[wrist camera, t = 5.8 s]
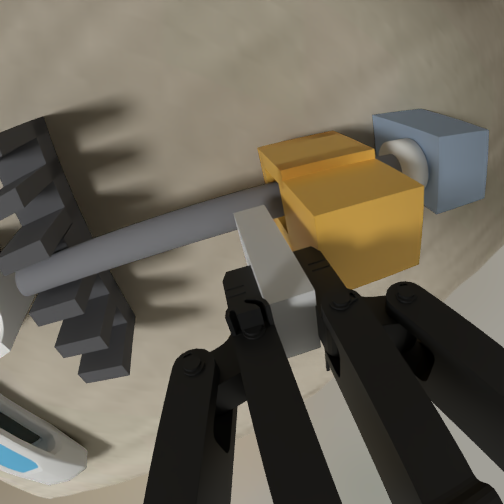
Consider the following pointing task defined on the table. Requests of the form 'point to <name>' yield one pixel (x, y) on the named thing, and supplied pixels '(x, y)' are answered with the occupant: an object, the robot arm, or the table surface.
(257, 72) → the table surface
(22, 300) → the bracket
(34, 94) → the table surface
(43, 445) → the document scanner
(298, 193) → the yellow notched block
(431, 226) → the table surface
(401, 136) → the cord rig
